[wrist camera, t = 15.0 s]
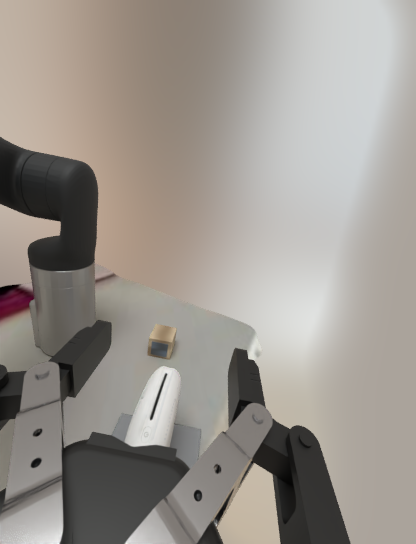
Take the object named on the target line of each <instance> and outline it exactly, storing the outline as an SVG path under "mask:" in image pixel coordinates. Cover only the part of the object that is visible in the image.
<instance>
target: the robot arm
mask: <svg viewBox="0 0 416 544" xmlns="http://www.w3.org/2000/svg"><path fill="white" fill-rule="evenodd" d="M0 204H2V205H4V206H7V207H9V208H11V209H14V210H16V211H18V212H21V213H23V214H26V215H29V216H33V217H38V218H44V219H49V220H55V221H61V231H60V236H53V237H47V238H43V239H39V240H37V241H34V242H33V243H31V244H30V245H29V247H28V258H29V265H30V271H31V279H32V285H33V293H34V300H32V301H31V302H30V304H29V305H30V312H31V318H32V325H33V331H34V338H35V345H36V346H39V347H41V349H42V350H43V352H44V353H46V354H47V355H50V356H53V357H52V358H51V359H50V360H49V361H48V362H42V363H39V364H37V365H35V366H33V367H31V368H30V369H29V370H28V371H21V372H7V369H6V367H5V366H3V365H0V430H1V429H2V428H3V427H4V425H5V424H6V423H7V422H8V421H9V420H10V419H15V418H16V420H15V427H14V435H13V442H12V450H11V457H10V465H9V472H8V480H7V487H6V488H5V489H4V490H2V491H1V492H0V544H223V542H222V539H221V537H220V535H219V532H218V530H217V526H218V525H219V523H220V521H221V520H222V518H223V516H224V514H225V513H226V511H227V509H228V508H229V506H230V504H231V502H232V500H233V498H234V496H235V494H236V493H237V491H238V489H239V488H240V486H241V484H242V483H243V481H244V479H245V478H246V476H247V474H248V473H249V471H250V469H251V468H252V466H253V464H254V463H256V464H257V465H259V466H260V467H262V468H264V469H266V470H267V471H269V472H270V473H272V474H273V482H274V490H275V499H276V508H277V516H278V525H279V533H280V542H281V544H350V541H349V537H348V534H347V531H346V528H345V524H344V521H343V518H342V515H341V512H340V508H339V505H338V502H337V499H336V496H335V493H334V489H333V486H332V483H331V480H330V476H329V473H328V470H327V467H326V464H325V460H324V457H323V454H322V451H321V448H320V444H319V442H318V440H317V439H316V437H315V436H314V434H313V433H311V431H309V430H308V429H306V428H305V427H302V426H294V427H292V428H291V429H289V428H287V427H285V426H283V425H281V424H279V423H278V422H276V421H275V420H274V419H272V416H271V414H270V413H269V411H268V410H267V409H266V407H265V402H264V396H263V391H262V385H261V380H260V374H259V368H258V366H257V365H256V363H255V361H254V360H249V359H248V354H247V350H243V349H238V348H235V349H234V352H233V355H232V359H231V362H230V366H229V371H228V409H229V428H228V430H227V431H226V432H221V433H220V434H219V435H218V437H217V438H216V439H215V440H214V441H213V443H212V444H211V445H210V446H209V447H208V448H207V450H206V451H205V452H204V453H203V454H202V456H201V457H200V458H199V459H198V460H197V462H196V463H195V464H194V465H193V466H192V467H191V469H190V468H189V467H188V465H187V464H186V463H185V462H183V461H182V460H181V459H179V458H178V457H176V452H177V449H175V448H170V447H165V446H160V445H148V446H137V447H133V446H130V445H128V444H127V443H125V442H123V441H121V440H119V439H118V438H116V437H114V436H111V435H106V434H101V433H96V432H92V434H91V436H90V438H89V439H88V440H82V441H78V442H75V443H73V444H71V445H68V446H66V447H65V436H64V415H63V401H64V400H65V399H66V397H67V396H69V397H74V398H75V397H76V395H77V394H78V393H79V391H80V390H81V388H82V387H83V386H84V384H85V383H86V381H87V380H88V379H89V377H90V376H91V374H92V373H93V371H94V370H95V369H96V367H97V366H98V364H99V363H100V362H101V360H102V359H103V357H104V356H105V355H106V353H107V352H108V350H109V348H110V345H111V322H106V321H101V320H98V321H96V312H95V262H94V260H95V259H94V254H95V247H96V238H97V237H96V235H97V208H98V186H97V180H96V177H95V174H94V172H93V170H92V169H91V168H90V166H89V165H87V164H86V163H84V162H81V161H77V160H73V159H69V158H64V157H59V156H54V155H49V154H44V153H39V152H34V151H30V150H26V149H23V148H21V147H18V146H16V145H14V144H12V143H10V142H8V141H6V140H4V139H3V138H1V137H0Z"/></svg>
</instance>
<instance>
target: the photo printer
mask: <svg viewBox="0 0 416 544" xmlns="http://www.w3.org/2000/svg"><path fill="white" fill-rule="evenodd" d="M180 390H181V377H180V374H179V373H178V372H177V371H176V370H175V369H174V368H168V367H166V366H162V367H160V368H158V369H157V370H156V371H155V372H154V373H153V374H152V376H151V377H150V378H149V380H148V382H147V384H146V386H145V388H144V390H143V393H142V395H141V397H140V399H139V402H138V404H137V406H136V409H135V411H134V414H133V417H132V419H131V422H130V425H129V428H128V431H127V435H126V438H125V441H124V442H125V443H127V444H128V445H130V446H133V447H137V446H148V445H160V446H165V447H170V443H171V438H172V433H173V428H174V423H175V417H176V412H177V406H178V401H179V396H180Z"/></svg>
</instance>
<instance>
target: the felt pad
mask: <svg viewBox="0 0 416 544" xmlns="http://www.w3.org/2000/svg"><path fill="white" fill-rule="evenodd" d="M132 417H133V415H128V414H123V413H122V414H121V416H120V418H119V421H118V423H117V425H116V427H115V429H114V432H113V434H112V436H114V437H116V438H118V439H119V440H121V441H123V442H124V441H125V438H126V435H127V431H128V428H129V425H130V422H131V419H132ZM200 435H201V429H197V428H192V427H187V426H182V425H177V424H174V428H173V433H172V438H171V443H170V448H175V449H177V452H176V457H178V458H179V459H181V460H182V461H183V462H185V463H186V464H187V465H188V467H189V468H190V469H191V467H192V466H193V465H194V464H195V463H196V462H197V460H198V455H199V445H200Z"/></svg>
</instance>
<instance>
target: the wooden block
mask: <svg viewBox="0 0 416 544" xmlns="http://www.w3.org/2000/svg"><path fill="white" fill-rule="evenodd" d="M176 330H177V328H173V327H168V326H163V325H158V324H156V325H155V327H154V329H153V331H152V333H151V335H150V337H149V345H148V355H149V356H154V357H159V358H164V359H170V356H171V353H172V350H173V347H174V343H175V336H176Z"/></svg>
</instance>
